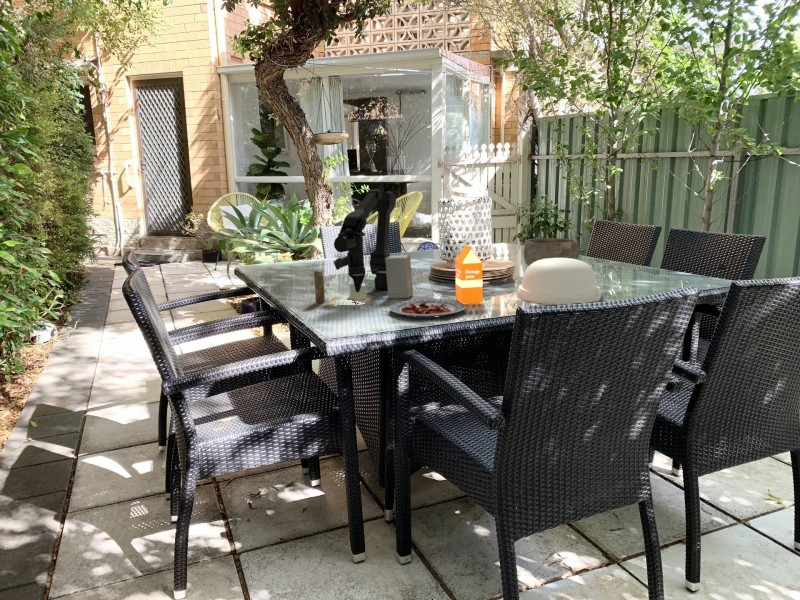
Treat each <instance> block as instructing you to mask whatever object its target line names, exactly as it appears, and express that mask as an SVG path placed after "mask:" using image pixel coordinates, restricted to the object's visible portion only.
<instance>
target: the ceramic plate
mask: <svg viewBox="0 0 800 600" xmlns="http://www.w3.org/2000/svg"><path fill="white" fill-rule="evenodd" d="M445 307H447V308H445ZM448 308H450V309H452V311H451V310H450V309H448ZM388 309H389V310H390V311H391V312H393V313H395V314H398V315H399V314H400V315H404V316H406V315H408V316H407V317H410V316H416V317H415V318H418V317H432V318H436V317H435V316H441V317H445V316H444V315H446V316H449V315H451V314H456V313H459V312H462V311H463V310H465V309H466V304H463V303H461V302H458V301H457V300H453V299H443V298H416V299H408V300H407V299H406V300H403V301H402V300H401V301H398V302H395V303H391V305H390V306H389V307H388ZM448 314H449V315H448Z"/></svg>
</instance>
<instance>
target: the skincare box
mask: <svg viewBox="0 0 800 600" xmlns="http://www.w3.org/2000/svg"><path fill="white" fill-rule="evenodd" d="M385 262H386V274H387V287H388V290H387V297H388V299H390V298H391V299H392V298H394V299H408V298H410V297H412V296H413V295H414V290H413V277H412V263H411V255H410V254H408V255H407V254H406V255H404V254H403V255H391V256H389V257H387V258H385Z"/></svg>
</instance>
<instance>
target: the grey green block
mask: <svg viewBox="0 0 800 600" xmlns="http://www.w3.org/2000/svg"><path fill="white" fill-rule="evenodd" d="M348 285H349V287H348V288H349V296H350V300H353V299H366V295H367V294H366V283H365V282H362V285H361V288H360V291H359V292H356V289H355V285H354V283H349V284H348Z"/></svg>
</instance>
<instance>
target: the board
mask: <svg viewBox="0 0 800 600" xmlns="http://www.w3.org/2000/svg"><path fill="white" fill-rule="evenodd" d="M342 298H343V299H345V298H346V299H347V300H350V295H346V296H344V295H343V296H329V297H328V301H327V307H328V308H329V307H330V308H332V306H334V302H335V301H336V300H337V301H338V300H341V299H342ZM337 301H336V302H337ZM352 301H354V302H352V303H355V304H356V303H357V302H356V301H358V302H361V303H365V305H364V306H372V305H373V300H372V296H371V294H369V295H368V294H366V299H353V300H352ZM357 304H359V303H357ZM357 304H356V305H357ZM335 305H336V303H335ZM338 305H339V304H338ZM357 306H358V305H357Z"/></svg>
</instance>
